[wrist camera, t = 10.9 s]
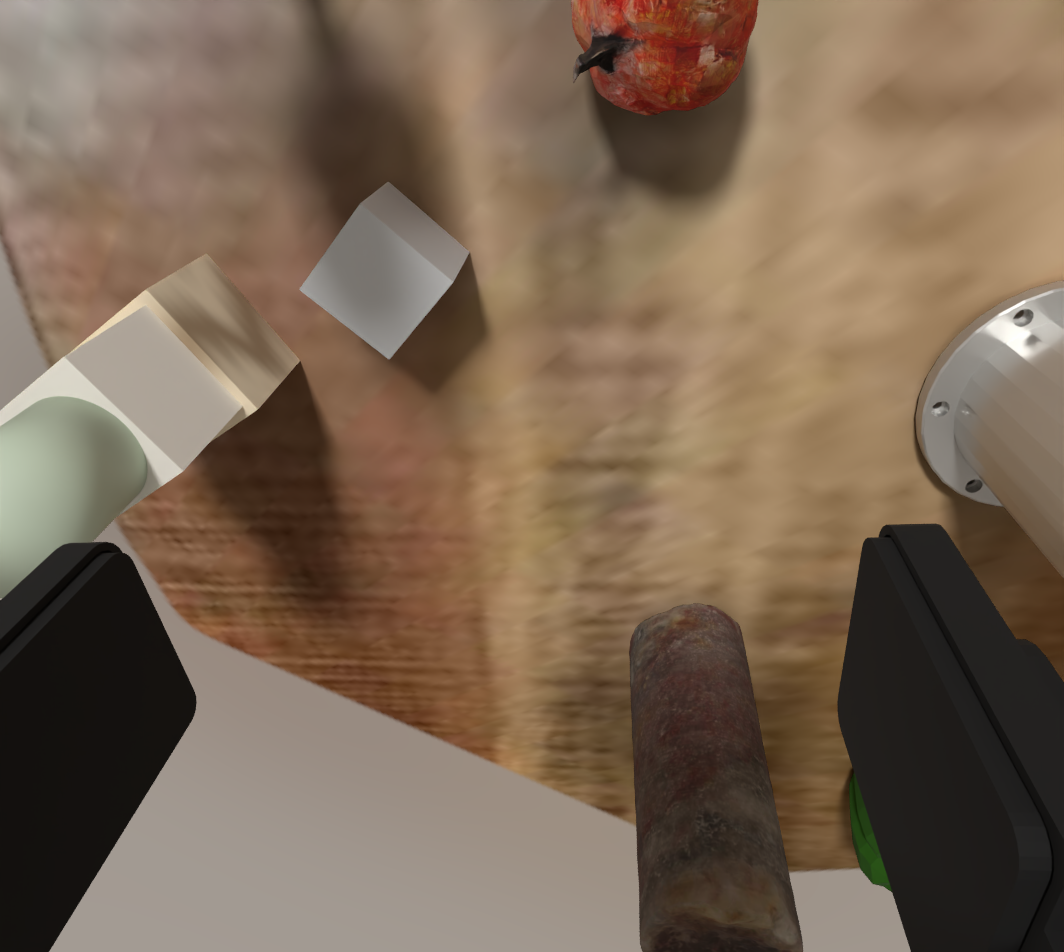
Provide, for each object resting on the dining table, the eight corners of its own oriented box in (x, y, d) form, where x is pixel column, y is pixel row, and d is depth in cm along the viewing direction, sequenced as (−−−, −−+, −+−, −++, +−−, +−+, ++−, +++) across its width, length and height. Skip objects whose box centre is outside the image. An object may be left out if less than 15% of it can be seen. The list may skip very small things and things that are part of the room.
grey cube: (470, 251, 37) (453, 282, 32) (411, 322, 39) (389, 359, 35) (388, 180, 35) (360, 203, 31) (332, 258, 37) (299, 289, 33)
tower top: (242, 406, 35) (183, 471, 30) (162, 462, 37) (94, 532, 32) (146, 304, 33) (63, 356, 28) (66, 371, 35) (-24, 430, 30)
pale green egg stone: (173, 472, 30) (87, 563, 25) (94, 523, 32) (0, 618, 27) (72, 373, 28) (-43, 450, 23) (-6, 434, 30) (-130, 519, 25)
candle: (650, 687, 52) (676, 1012, 35) (607, 616, 49) (612, 936, 32) (756, 656, 49) (839, 988, 33) (718, 579, 46) (788, 903, 29)
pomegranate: (685, -130, 30) (487, -63, 27) (841, -181, 24) (615, -104, 21) (707, 70, 34) (538, 148, 31) (843, 64, 29) (656, 158, 26)
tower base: (300, 360, 40) (258, 409, 35) (214, 420, 43) (163, 474, 38) (206, 253, 38) (146, 289, 33) (121, 323, 40) (51, 367, 35)
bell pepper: (934, 715, 51) (1001, 853, 43) (961, 784, 55) (1028, 923, 46) (814, 747, 54) (855, 883, 45) (848, 810, 57) (892, 947, 49)
